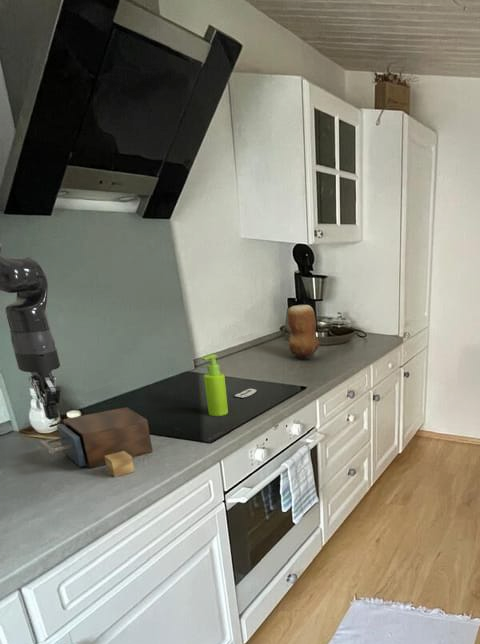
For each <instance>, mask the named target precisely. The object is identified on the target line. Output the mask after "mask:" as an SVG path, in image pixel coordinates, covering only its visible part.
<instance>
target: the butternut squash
mask: <svg viewBox="0 0 480 644" xmlns="http://www.w3.org/2000/svg"><path fill="white" fill-rule="evenodd" d="M287 322H288V325H289V329H290V337H289V339H288V348H289V350H290V352H291V354H293V355H294V356H296V358H299V359H301V360H309V359H311V358H312V357H313V356H314V354H315V353H316V352H317V350H318V349H319V345H320V344H319V339H318V337H317V331H316V330H317V320H316V313H315V310H314V308H313V307H312V306H311V305H309V304H297V305H292V306H290V307H288V310H287Z"/></svg>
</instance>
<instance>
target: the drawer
mask: <svg viewBox="0 0 480 644" xmlns="http://www.w3.org/2000/svg"><path fill="white" fill-rule="evenodd" d="M56 427H57V431H58V435H59V437H56V438H52V439H48V440H45V439H40V440H39V441H38V445H39V446H40V447H41V448H42V449H44V450H45V451H46V452H47V453H48V454H50V455H53V454H55V453H56V452H58V451H63V453H64V454H65V455H66V456H67V457H68V458H69V459H71V460H72V461H73V462H74V463H75V464H76V465H78V466H79V467H80V468H81V467H85V466H87V465H86V463H85V459H84V456H85V457H86V453H85V448H84V444H83V440H82V436H81V435H80V434H79V433H77V432H76V431H75V430H73V429H72V428H71V430H70V429H68V428H67V427H66V426H65V424H64V423H60V424H56ZM57 442H60V443H61V446H59V447H55V448H54V447H53V446H52V445H50V444H52V443H57ZM86 458H87V457H86Z"/></svg>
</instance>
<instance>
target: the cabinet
mask: <svg viewBox="0 0 480 644" xmlns="http://www.w3.org/2000/svg"><path fill="white" fill-rule="evenodd" d="M63 425H65V426H66V427H67V428H68V429H70V430H71V428H72V429H73V430H75V431H76V432H77V433H79V434H80V435H81V436H82V440H83V444H84V448H85V453H86V457H87V458H86V457H85V456H84V459H85V463H86V465H85V466H86V467H88V469H94V468H99V467H101V466H105V465H106V462H105V457H104V456H106V455H110V454H114V453H118V452H122V451H125V452H126V453H128V454H129V455H130V456H132V458H135V457H139V456H142V455H147V454H151V453H153V451H154V450H153V446H152V440H151V436H150V435H151V433H150V429H149V422H148V419H147V418H145V417H144V416H142V415H140V414H139V413H137V412H135V411H134V410H133V409H131V408H129V407H128V406H126V407H121V408H115V409H110V410H105V411H99V412H94V413H90V414H85V415H84V414H83V415H80V416H74V417H69V418H64V419H63Z"/></svg>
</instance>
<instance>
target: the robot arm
mask: <svg viewBox="0 0 480 644" xmlns="http://www.w3.org/2000/svg"><path fill="white" fill-rule="evenodd" d="M2 251H3V245H2V243H1V242H0V292H1V293H6V294H15V296H16V297H15V300H13V301H11V302H10V303H8V304H6V305H5V307H4V314H5V318H6V322H7V325H8V328H9V334H10V342H11V345H12V349H13V353H14V357H15V360H16V364H17V368H18V370H20V371H21V372H23V373H24V372H25V373H30V374H31V375H30V376H28V381H29V382H30V384H31V386H32V388H33V391H34V393H35V395H36V399H37V400H39V402H40V404H41V405H42V408H43V411H44V416H45V418H46V419H47V420H56V419H59V417H60V414H59V411H58V407H57V404H60V395H61V388H60V387H59V386H57V377H56V376H55V375H53V373H52V371H53V370H57V369H59V368H60V367H61V363H60V357H59V354H58V350H57V345H56V341H55V338H54V335H53V333H52V330H51V326H50V322H49V318H48V315H47V314H48V313H47V304H48V292H49V291H48V290H49V285H48V284H49V282H48V276H47V273H46V271H45V270H44V268H43V267H42V266H41V264H40V263H39V262H37V261H36V260H35V259H32V258H29V257H11V258H9V257H8V258H4V257H2V256H1V254H2Z"/></svg>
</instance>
